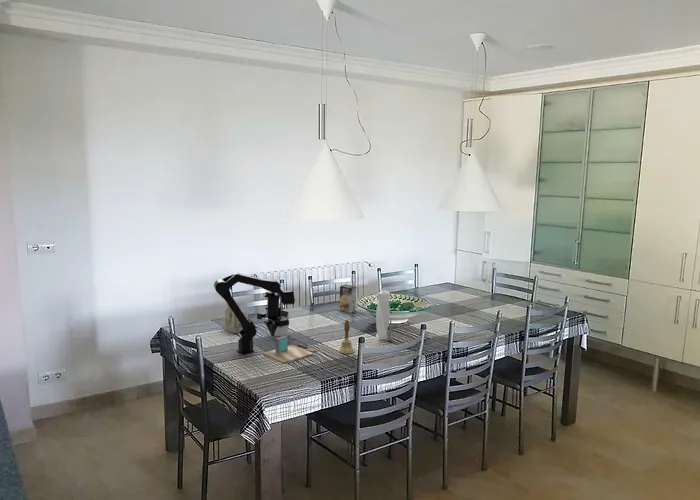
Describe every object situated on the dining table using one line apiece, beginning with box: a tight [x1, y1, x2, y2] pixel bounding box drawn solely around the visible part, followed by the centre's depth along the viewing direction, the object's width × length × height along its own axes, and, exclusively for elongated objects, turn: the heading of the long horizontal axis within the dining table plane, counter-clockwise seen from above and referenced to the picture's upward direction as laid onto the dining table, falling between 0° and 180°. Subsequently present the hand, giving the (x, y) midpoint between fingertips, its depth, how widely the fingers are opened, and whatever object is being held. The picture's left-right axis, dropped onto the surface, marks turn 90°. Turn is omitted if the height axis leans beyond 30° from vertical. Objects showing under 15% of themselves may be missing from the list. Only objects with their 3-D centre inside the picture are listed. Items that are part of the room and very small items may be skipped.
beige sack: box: [223, 304, 249, 334], centre depth 297 cm, size 16×16×15 cm
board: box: [263, 344, 314, 364], centre depth 259 cm, size 18×16×1 cm
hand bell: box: [337, 319, 355, 355], centre depth 266 cm, size 8×8×16 cm
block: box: [275, 336, 289, 353], centre depth 260 cm, size 6×2×7 cm, turn 137°
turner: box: [297, 343, 318, 353], centre depth 269 cm, size 3×12×1 cm, turn 47°
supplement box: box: [274, 309, 290, 338], centre depth 289 cm, size 7×7×13 cm
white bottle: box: [375, 288, 393, 342], centre depth 287 cm, size 8×8×28 cm
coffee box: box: [338, 284, 357, 314], centre depth 341 cm, size 9×6×16 cm
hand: (272, 335), depth 265 cm, fingers closed
